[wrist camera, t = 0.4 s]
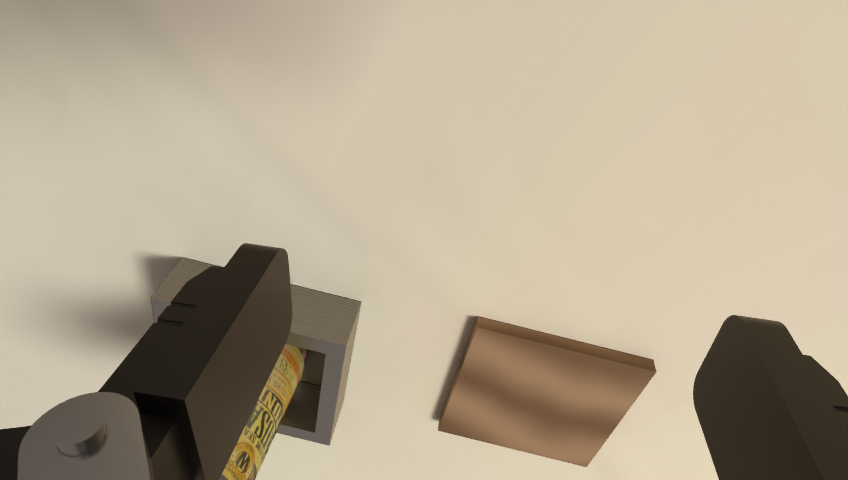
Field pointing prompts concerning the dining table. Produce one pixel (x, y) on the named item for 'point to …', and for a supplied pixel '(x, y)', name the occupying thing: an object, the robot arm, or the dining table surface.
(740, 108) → the dining table surface
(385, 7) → the dining table surface
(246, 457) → the sauce bottle
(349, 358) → the grey shallow box
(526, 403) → the walnut board
